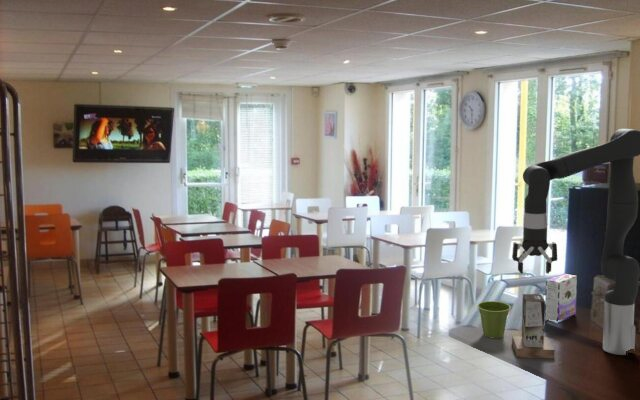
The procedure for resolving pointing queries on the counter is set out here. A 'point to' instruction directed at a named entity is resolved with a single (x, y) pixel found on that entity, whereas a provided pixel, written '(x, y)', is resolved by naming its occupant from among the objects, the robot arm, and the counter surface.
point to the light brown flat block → (533, 349)
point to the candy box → (560, 297)
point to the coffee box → (533, 320)
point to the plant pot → (493, 317)
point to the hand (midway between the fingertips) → (534, 272)
